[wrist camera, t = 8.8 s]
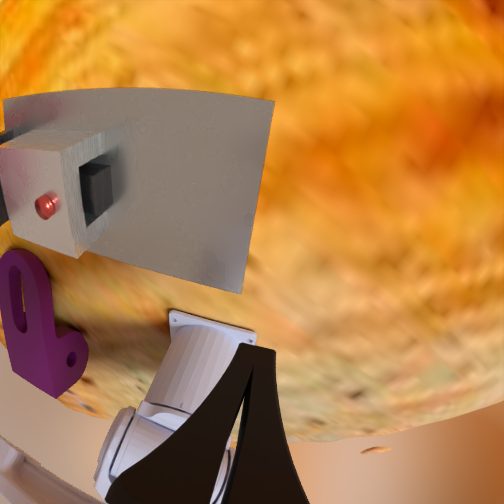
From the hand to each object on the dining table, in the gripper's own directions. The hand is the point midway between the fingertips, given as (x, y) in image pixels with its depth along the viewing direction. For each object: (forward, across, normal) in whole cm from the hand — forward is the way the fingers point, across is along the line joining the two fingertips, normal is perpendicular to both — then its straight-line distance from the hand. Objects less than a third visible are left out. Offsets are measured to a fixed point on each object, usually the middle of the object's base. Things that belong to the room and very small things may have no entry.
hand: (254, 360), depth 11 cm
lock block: (+10, +17, -1) cm, 20 cm away
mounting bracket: (+10, +27, +18) cm, 34 cm away
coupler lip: (+10, +14, -1) cm, 17 cm away
